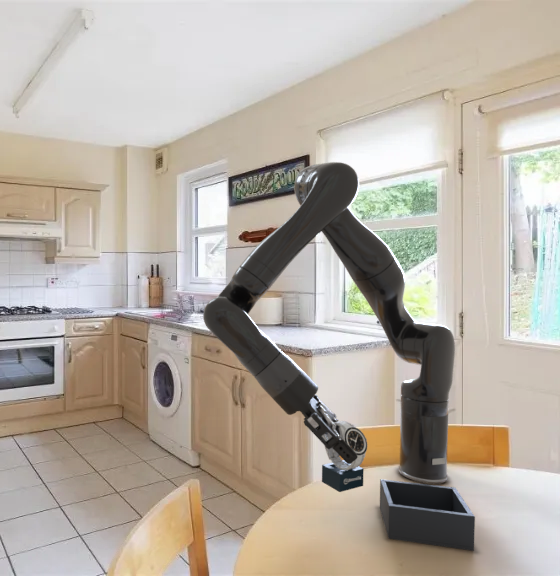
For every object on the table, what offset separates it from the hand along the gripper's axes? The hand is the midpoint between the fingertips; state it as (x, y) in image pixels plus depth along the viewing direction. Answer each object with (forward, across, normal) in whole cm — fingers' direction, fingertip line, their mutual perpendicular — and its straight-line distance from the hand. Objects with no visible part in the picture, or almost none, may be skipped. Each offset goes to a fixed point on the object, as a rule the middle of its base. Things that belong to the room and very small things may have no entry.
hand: (351, 451), depth 84 cm
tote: (+17, +1, +1) cm, 18 cm away
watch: (+4, 0, +6) cm, 7 cm away
